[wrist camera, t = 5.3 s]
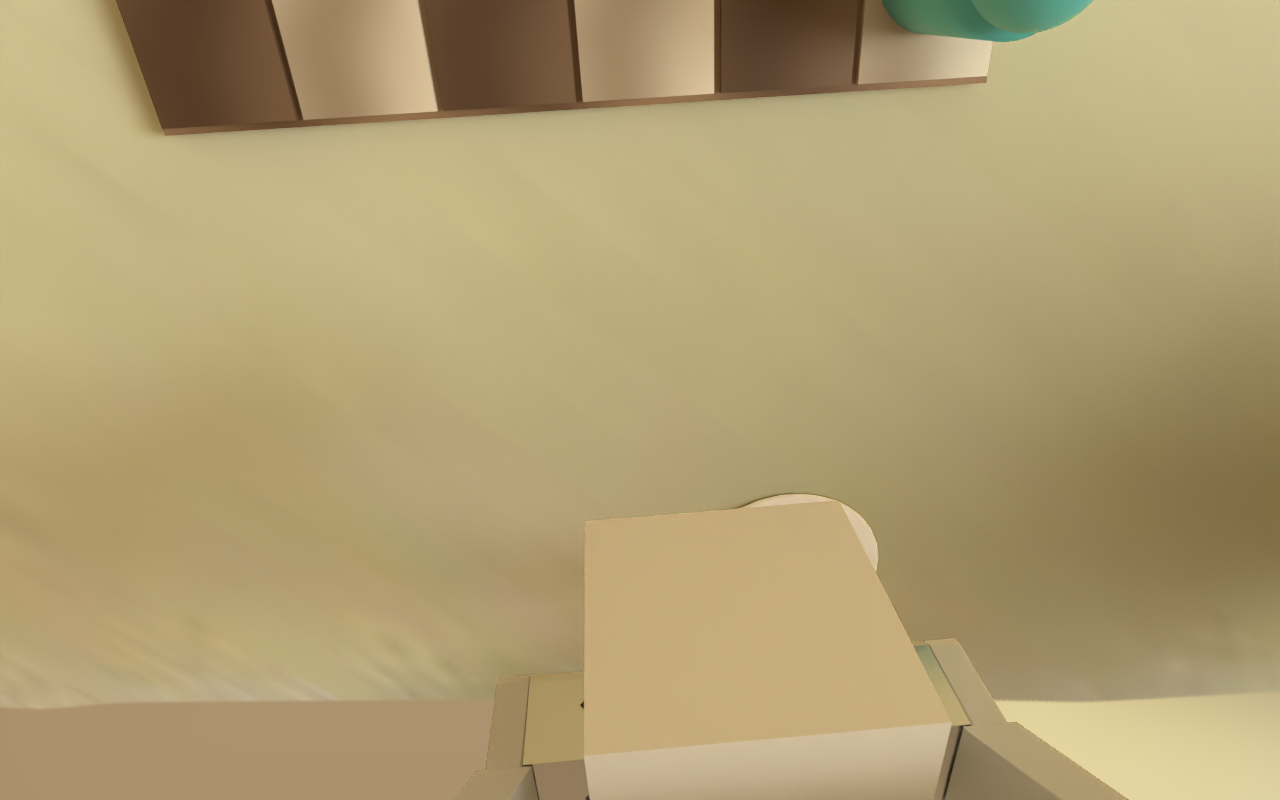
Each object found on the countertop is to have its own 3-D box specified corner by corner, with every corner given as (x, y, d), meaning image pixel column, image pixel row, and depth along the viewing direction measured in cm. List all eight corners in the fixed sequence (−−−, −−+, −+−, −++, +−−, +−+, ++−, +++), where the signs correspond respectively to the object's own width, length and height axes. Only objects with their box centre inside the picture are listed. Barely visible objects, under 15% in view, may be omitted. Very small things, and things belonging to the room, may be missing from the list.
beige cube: (838, 500, 12) (951, 721, 9) (821, 675, 15) (905, 916, 11) (584, 520, 12) (582, 755, 8) (604, 694, 14) (610, 946, 11)
